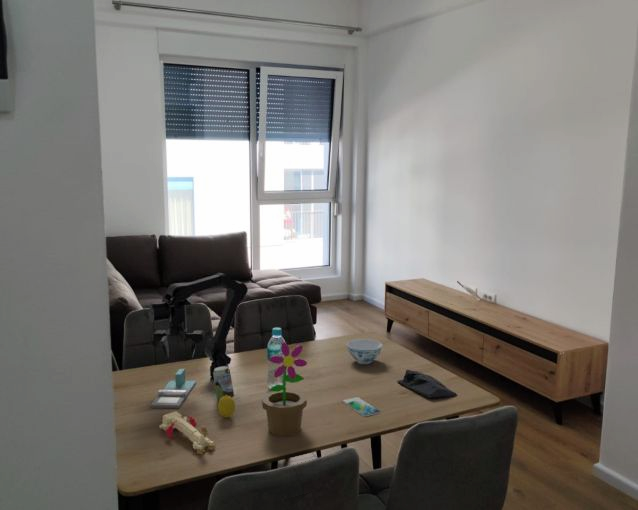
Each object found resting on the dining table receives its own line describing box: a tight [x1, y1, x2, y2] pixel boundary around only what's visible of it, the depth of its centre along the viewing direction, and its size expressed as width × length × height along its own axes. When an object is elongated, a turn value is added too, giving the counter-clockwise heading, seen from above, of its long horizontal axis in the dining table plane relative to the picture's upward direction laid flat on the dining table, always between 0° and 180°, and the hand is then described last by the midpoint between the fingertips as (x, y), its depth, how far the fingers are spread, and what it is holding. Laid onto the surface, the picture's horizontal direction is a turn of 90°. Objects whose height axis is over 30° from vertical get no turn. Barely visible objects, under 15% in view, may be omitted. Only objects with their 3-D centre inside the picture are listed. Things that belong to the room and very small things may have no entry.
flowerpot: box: [261, 342, 308, 437], centre depth 181 cm, size 14×14×30 cm
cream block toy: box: [159, 410, 216, 455], centre depth 177 cm, size 10×9×25 cm
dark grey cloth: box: [397, 369, 458, 399], centre depth 217 cm, size 15×22×5 cm
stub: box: [165, 368, 197, 391], centre depth 218 cm, size 10×7×6 cm
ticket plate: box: [150, 386, 192, 409], centre depth 207 cm, size 10×16×2 cm, turn 178°
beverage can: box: [213, 366, 235, 401], centre depth 205 cm, size 6×7×12 cm
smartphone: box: [341, 396, 382, 418], centre depth 200 cm, size 7×1×15 cm
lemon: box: [217, 395, 236, 419], centre depth 191 cm, size 6×6×8 cm
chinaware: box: [346, 338, 383, 365], centre depth 246 cm, size 15×15×8 cm
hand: (179, 357), depth 217 cm, fingers open, 9 cm apart
